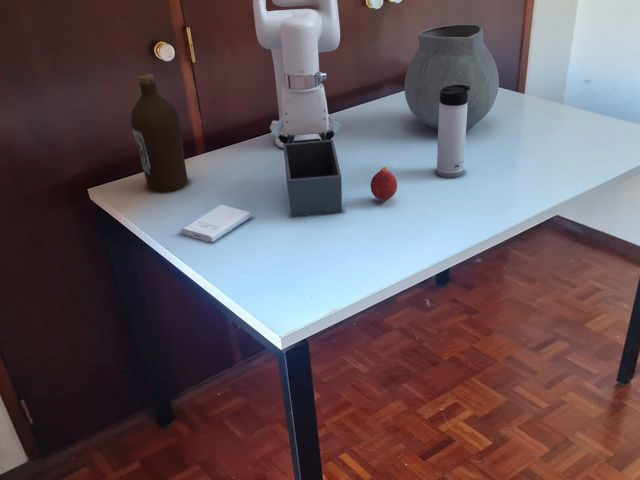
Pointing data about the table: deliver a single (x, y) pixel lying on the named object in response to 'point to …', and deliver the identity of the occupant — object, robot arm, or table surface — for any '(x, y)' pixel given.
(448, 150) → the travel mug
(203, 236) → the hard drive
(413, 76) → the ceramic pot
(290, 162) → the grey drawer with handle
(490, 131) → the table surface
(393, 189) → the onion
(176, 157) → the olive oil
